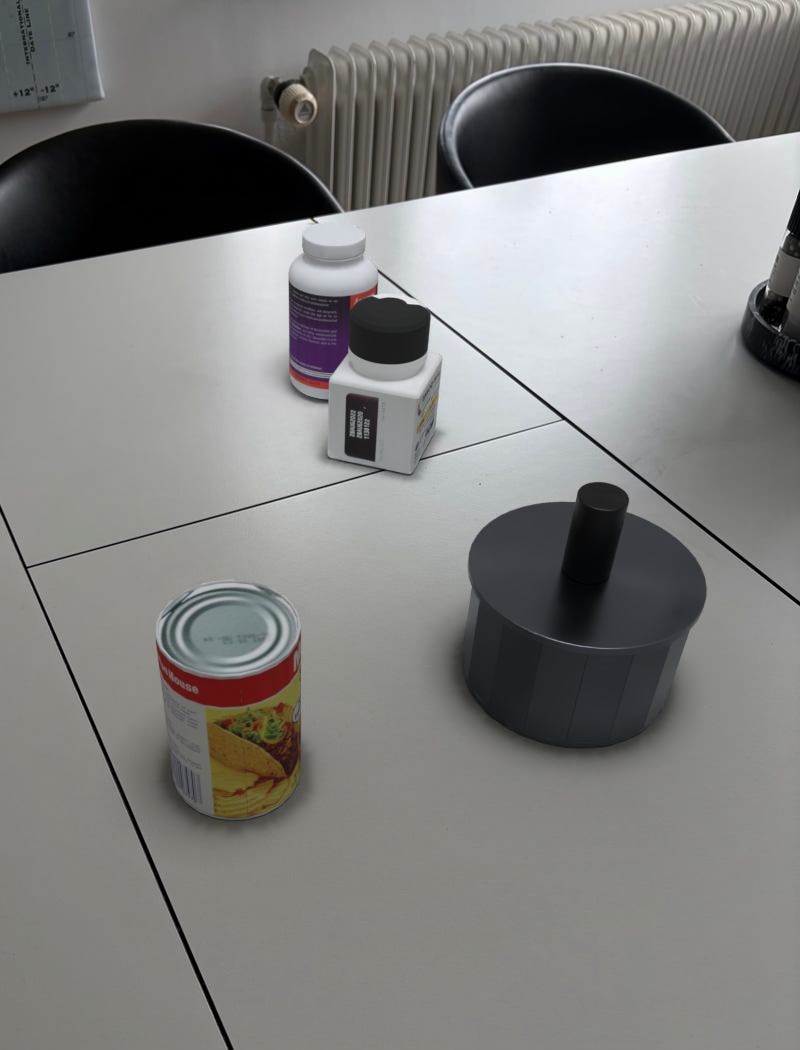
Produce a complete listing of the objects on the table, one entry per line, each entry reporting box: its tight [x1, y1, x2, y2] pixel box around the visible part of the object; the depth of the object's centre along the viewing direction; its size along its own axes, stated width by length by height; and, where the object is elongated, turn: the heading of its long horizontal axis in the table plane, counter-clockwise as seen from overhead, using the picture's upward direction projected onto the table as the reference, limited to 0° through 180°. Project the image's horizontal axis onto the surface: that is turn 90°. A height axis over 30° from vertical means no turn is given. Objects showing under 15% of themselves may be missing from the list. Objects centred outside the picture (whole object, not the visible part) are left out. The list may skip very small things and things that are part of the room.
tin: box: [461, 587, 691, 749], centre depth 68 cm, size 14×14×8 cm
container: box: [327, 293, 443, 475], centre depth 87 cm, size 8×8×13 cm
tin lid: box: [466, 481, 708, 656], centre depth 63 cm, size 15×15×7 cm
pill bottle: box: [288, 221, 379, 401], centre depth 95 cm, size 8×8×14 cm
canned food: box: [154, 578, 302, 821], centre depth 60 cm, size 8×8×12 cm
